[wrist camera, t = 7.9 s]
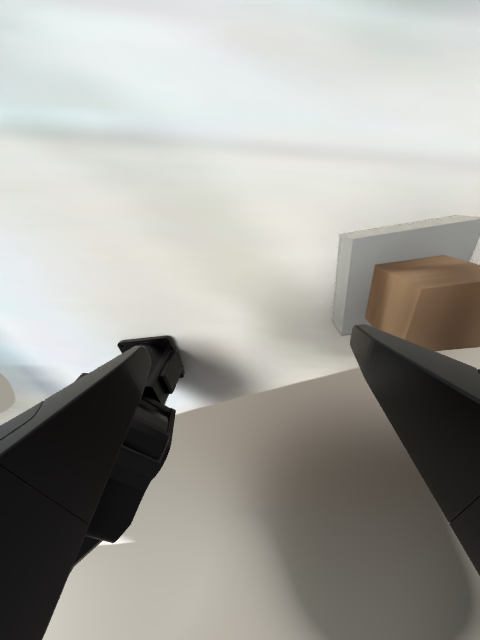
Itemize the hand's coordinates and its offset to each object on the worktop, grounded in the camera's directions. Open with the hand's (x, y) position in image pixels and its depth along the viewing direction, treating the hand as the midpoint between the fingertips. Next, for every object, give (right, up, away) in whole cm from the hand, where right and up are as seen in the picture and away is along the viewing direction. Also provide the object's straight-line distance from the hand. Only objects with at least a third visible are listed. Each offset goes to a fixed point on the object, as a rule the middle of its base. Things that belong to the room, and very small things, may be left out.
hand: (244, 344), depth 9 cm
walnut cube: (+13, +4, +8) cm, 16 cm away
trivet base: (+14, +5, +11) cm, 18 cm away
